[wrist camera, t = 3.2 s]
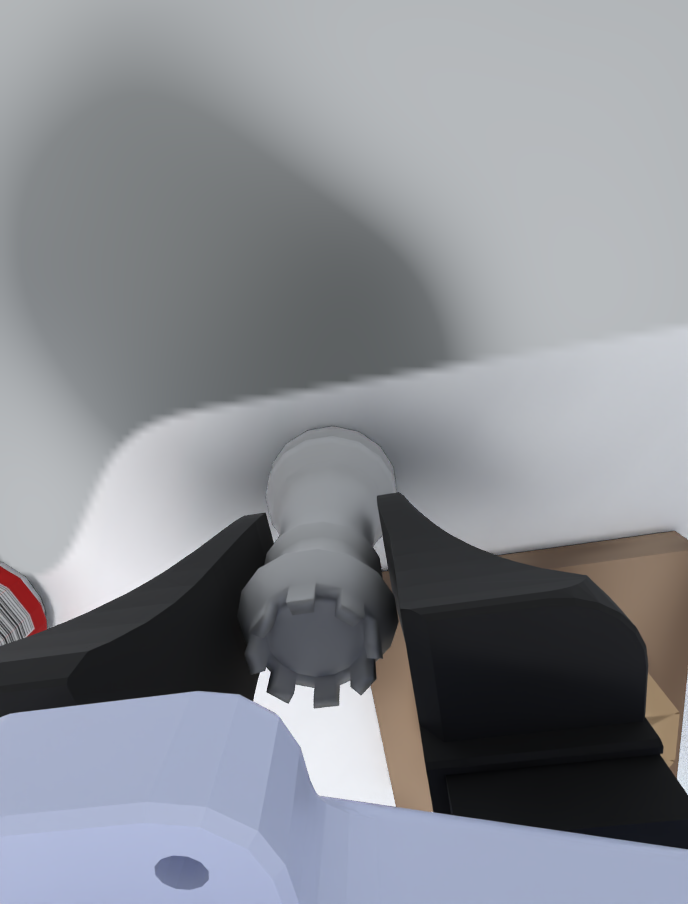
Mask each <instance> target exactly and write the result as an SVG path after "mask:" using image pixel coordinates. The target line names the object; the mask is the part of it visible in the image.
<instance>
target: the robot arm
mask: <svg viewBox="0 0 688 904" xmlns="http://www.w3.org/2000/svg"><path fill="white" fill-rule="evenodd" d="M377 506H378V512H379V517H380V523H381V529H382V535H383V541H384V547H385V552H386V558H387V564H388V570H389V576H390V582H391V587H392V592H393V594H394V596H395V602H396V608H397V612H398V616H399V620H400V624H401V628H402V632H403V636H404V639H405V643H406V649H407V655H408V661H409V667H410V673H411V679H412V685H413V691H414V697H415V703H416V709H417V715H418V721H419V727H420V734H421V740H422V747H423V754H424V760H425V767H426V773H427V778H428V784H429V790H430V796H431V802H432V808H433V812H427V811H420V810H413V809H407V808H400V807H393V806H386V805H379V804H372V803H365V802H358V801H352V800H345V799H338V798H331V797H324V796H319V795H318V794H317V793H316V792H315V790H314V788H313V785H312V783H311V781H310V778H309V775H308V771H307V768H306V765H305V761H304V758H303V755H302V751H301V748H300V746H299V745H298V743H297V742H296V740H295V739H294V737H293V736H292V734H291V733H290V731H289V730H288V729H287V727H286V726H285V724H284V723H283V721H282V720H281V718H280V717H279V716H278V715H277V714H275V713H274V712H272V711H270V710H268V709H266V708H264V707H262V706H261V705H259V704H257V703H255V702H253V699H254V694H255V690H256V685H257V681H258V677H259V674H260V672H259V673H256V674H252V675H251V673H250V670H249V667H248V664H247V661H246V658H245V651H246V647H247V643H246V642H245V640H244V637H243V634H242V630H241V627H240V624H239V621H238V618H237V615H238V609H239V603H240V597H241V592H242V590H243V588H244V587H245V586H246V584H247V583H248V582H249V580H250V579H251V578H252V576H253V575H254V574H255V572H256V571H257V570H258V568H260V567H262V566H264V565H265V560H266V554H267V552H268V551H269V550H270V548H271V547H272V546H273V544H274V542H273V539H272V535H271V531H270V527H269V524H268V520H267V516H266V513H260V514H253V515H247V516H243V517H241V518H240V519H238V520H236V521H235V522H233V523H232V524H230V525H229V526H228V527H226V528H225V529H224V530H222V531H221V532H220V533H218V534H217V535H216V536H214V537H213V538H212V539H210V540H209V541H208V542H206V543H205V544H204V545H202V546H201V547H200V548H198V549H197V550H195V551H194V552H192V553H191V554H190V555H188V556H187V557H185V558H184V559H182V560H181V561H179V562H178V563H177V564H175V565H174V566H172V567H171V568H169V569H168V570H166V571H165V572H163V573H162V574H160V575H158V576H157V577H155V578H153V579H152V580H150V581H148V582H146V583H145V584H143V585H141V586H139V587H138V588H136V589H134V590H132V591H131V592H129V593H127V594H125V595H123V596H121V597H119V598H117V599H115V600H112V601H110V602H108V603H106V604H104V605H102V606H100V607H98V608H96V609H94V610H92V611H90V612H88V613H85V614H83V615H81V616H79V617H76V618H74V619H71V620H69V621H67V622H64V623H62V624H59V625H57V626H54V627H52V628H49V629H47V630H44V631H42V632H39V633H36V634H34V635H31V636H28V637H25V638H23V639H20V640H17V641H14V642H11V643H7V644H4V645H1V646H0V904H688V795H687V793H686V792H685V790H684V789H683V787H682V786H681V784H680V783H679V782H678V780H677V779H676V777H675V776H674V774H673V773H672V771H671V770H670V768H669V767H668V765H667V764H666V762H665V761H664V759H663V758H662V756H661V755H660V754H663V749H664V747H663V744H662V741H661V739H660V737H659V736H658V734H657V733H656V731H655V730H654V729H653V727H652V726H651V724H650V723H649V721H648V720H647V719H646V717H645V712H646V696H647V680H648V656H647V648H646V644H645V642H644V640H643V638H642V637H641V635H640V633H639V631H638V629H637V627H636V626H635V625H634V624H633V623H632V622H631V620H630V619H629V618H628V617H627V616H626V615H625V614H624V612H623V611H622V610H621V609H620V608H619V607H618V606H617V604H616V603H615V602H614V601H613V600H612V599H611V598H610V597H609V596H608V595H607V594H606V593H605V592H604V591H603V590H602V589H601V588H600V587H599V586H598V585H596V584H595V583H594V582H593V581H592V580H591V579H590V578H589V577H588V576H587V575H582V574H575V573H569V572H563V571H557V570H551V569H545V568H540V567H535V566H531V565H527V564H523V563H520V562H516V561H512V560H509V559H506V558H502V557H499V556H497V555H494V554H491V553H489V552H486V551H483V550H481V549H478V548H476V547H474V546H471V545H469V544H467V543H465V542H463V541H462V540H460V539H458V538H456V537H454V536H452V535H450V534H449V533H447V532H445V531H444V530H442V529H441V528H439V527H438V526H436V525H435V524H434V523H432V522H431V521H430V520H429V519H428V518H426V517H425V516H424V515H423V514H421V513H420V512H419V511H418V510H417V509H416V508H415V507H414V506H413V505H412V504H411V503H410V502H409V501H408V500H407V499H406V498H405V497H404V496H403V495H402V494H401V493H399V492H397V493H391V494H384V495H378V496H377Z"/></svg>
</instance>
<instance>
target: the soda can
mask: <svg viewBox="0 0 688 904" xmlns="http://www.w3.org/2000/svg"><path fill="white" fill-rule="evenodd" d="M44 630H47V620H46V617H45V609H44V606H43V603H42V600H41V598H40V596H39V595H38V593H37V592H36V591H35V589H34V588H33V587H32V585H31V584H30V582H29V581H28V580H27V578H26V577H25V576H23V575H22V574H20V573H19V572H17V571H16V570H14V569H13V568H11V567H10V566H8V565H7V564H5V563H4V562H0V646H1V645H4V644H7V643H11V642H14V641H17V640H20V639H23V638H25V637H28V636H31V635H34V634H36V633H39V632H42V631H44Z"/></svg>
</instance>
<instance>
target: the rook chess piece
mask: <svg viewBox="0 0 688 904" xmlns="http://www.w3.org/2000/svg"><path fill="white" fill-rule="evenodd" d="M396 491H397V489H396V482H395V475H394V469H393V466H392V464H391V463H390V461H389V459H388V458H387V456H386V455H385V453H384V452H383V450H382V449H381V447H380V446H379V445H377V444H376V443H375V442H373V441H372V440H370V439H369V438H367V437H366V436H364V435H363V434H361V433H360V432H357V431H353V430H348V429H344V428H339V427H335V426H332V427H325V428H319V429H313V430H307V431H306V432H304V433H303V434H301V435H299V436H298V437H296V438H294V439H293V440H291V441H290V442H288V443H286V444H285V446H284V447H283V449H282V450H281V452H280V453H279V455H278V456H277V457H276V459H275V460H274V462H273V463H272V468H271V473H270V474H269V480H268V485H267V491H266V497H265V498H266V503H267V507H268V510H269V514H270V518H271V522H272V525H273V526H274V528H275V529H276V530H277V532H278V534H279V537H278V539H277V540H276V541H275V543H274V544H273V546H272V547H271V548H270V550H269V551H268V552H267V554H266V560H265V565H264V566H262V567H260V568H258V570H257V571H256V572H255V574H254V575H253V576H252V578H251V579H250V580H249V582H248V583H247V584H246V586H245V587H244V588H243V590H242V592H241V597H240V603H239V609H238V615H237V618H238V621H239V624H240V627H241V630H242V634H243V637H244V640H245V642H246V643H247V647H246V651H245V658H246V661H247V664H248V667H249V670H250V673H251V675H252V674H256V673H259V672H262V671H265V669H266V667H267V669H268V670H269V671H270V672H271V674H270V678H269V683H268V687H267V693H269V694H271V695H273V696H275V697H277V698H278V699H280V700H282V701H284V702H286V703H288V704H289V702H290V700H291V698H292V696H293V694H294V690H295V684H296V685H302V686H307V687H312V688H315V689H314V708H322V707H331V706H339V692H340V685H341V684H343V683H346V682H348V681H350V680H351V686H350V687H351V688H353V689H354V690H355V691H356V692H358V693H359V694H360V695H362V694H363V693H364V692H365V691H366V690H367V689H368V688H369V687H370V686H371V684H372V683H373V682H374V681H375V680H376V679H377V677H376V662H377V660H378V659H383V654H384V653H385V652H386V651H387V650H388V649H389V648H390V647H391V644H392V641H393V638H394V635H395V632H396V629H397V626H398V623H399V620H398V614H397V608H396V602H395V596H394V594H393V593H392V592H391V590H390V589H389V587H388V586H387V584H386V583H385V582H384V580H383V579H382V577H383V576H382V570H381V564H380V558H379V556H378V554H377V553H376V551H375V550H374V549H373V546H374V545H375V544H376V542H377V541H378V540H379V539H380V538H381V536H382V529H381V523H380V517H379V512H378V506H377V496H378V495H384V494H391V493H396Z"/></svg>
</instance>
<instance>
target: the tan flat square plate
mask: <svg viewBox="0 0 688 904" xmlns="http://www.w3.org/2000/svg"><path fill="white" fill-rule="evenodd" d="M499 557H502V558H506V559H509V560H512V561H516V562H520V563H523V564H527V565H531V566H535V567H540V568H545V569H551V570H557V571H563V572H569V573H575V574H582V575H587V576H588V577H589V578H590V579H591V580H592V581H593V582H594V583H595V584H596V585H598V586H599V587H600V588H601V589H602V590H603V591H604V592H605V593H606V594H607V595H608V596H609V597H610V598H611V599H612V600H613V601H614V602H615V603H616V604H617V606H618V607H619V608H620V609H621V610H622V611H623V612H624V614H625V615H626V616H627V617H628V618H629V619H630V620H631V622H632V623H633V624H634V625H635V626H636V627H637V629H638V631H639V633H640V635H641V637H642V638H643V640H644V642H645V644H646V648H647V656H648V680H647V696H646V712H645V717H646V719H647V720H648V721H649V723H650V724H651V726H652V727H653V729H654V730H655V731H656V733H657V734H658V736H659V737H660V739H661V741H662V744H663V747H664V749H663V754H660V755H661V756H662V758H663V759H664V761H665V762H666V764H667V765H668V767H669V768H670V770H671V771H672V773H673V774H674V776H675V777H676V779H677V771H678V761H679V751H680V741H681V732H682V722H683V712H684V702H685V692H686V683H687V673H688V540H687V539H686V538H684V537H683V536H682V535H680V534H679V533H677V532H676V531H671V532H664V533H657V534H649V535H642V536H635V537H628V538H621V539H614V540H606V541H599V542H592V543H585V544H578V545H570V546H563V547H556V548H549V549H542V550H535V551H527V552H520V553H513V554H506V555H499ZM382 576H383V577H382V579H383V580H384V582H385V583H386V584H387V586H388V587H389V589H390V590H391V592H392V587H391V582H390V576H389V571H384V572H382ZM392 593H393V592H392ZM397 614H398V612H397ZM398 620H399V616H398ZM376 677H377V679H376V680H375V681H374V682H373V683H372V684H371V689H372V694H373V699H374V704H375V708H376V713H377V718H378V723H379V728H380V732H381V737H382V742H383V747H384V752H385V756H386V761H387V766H388V771H389V776H390V780H391V785H392V790H393V795H394V800H395V804H396V807H400V808H407V809H413V810H420V811H427V812H433V808H432V802H431V796H430V790H429V784H428V778H427V773H426V767H425V760H424V754H423V747H422V740H421V734H420V727H419V721H418V715H417V709H416V703H415V697H414V691H413V685H412V679H411V673H410V667H409V661H408V655H407V649H406V643H405V639H404V636H403V632H402V628H401V624H400V620H399V623H398V626H397V629H396V632H395V635H394V638H393V641H392V644H391V647H390V648H389V649H388V650H387V651H386V652H385V653H384V654H383V659H378V660H377V662H376Z"/></svg>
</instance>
